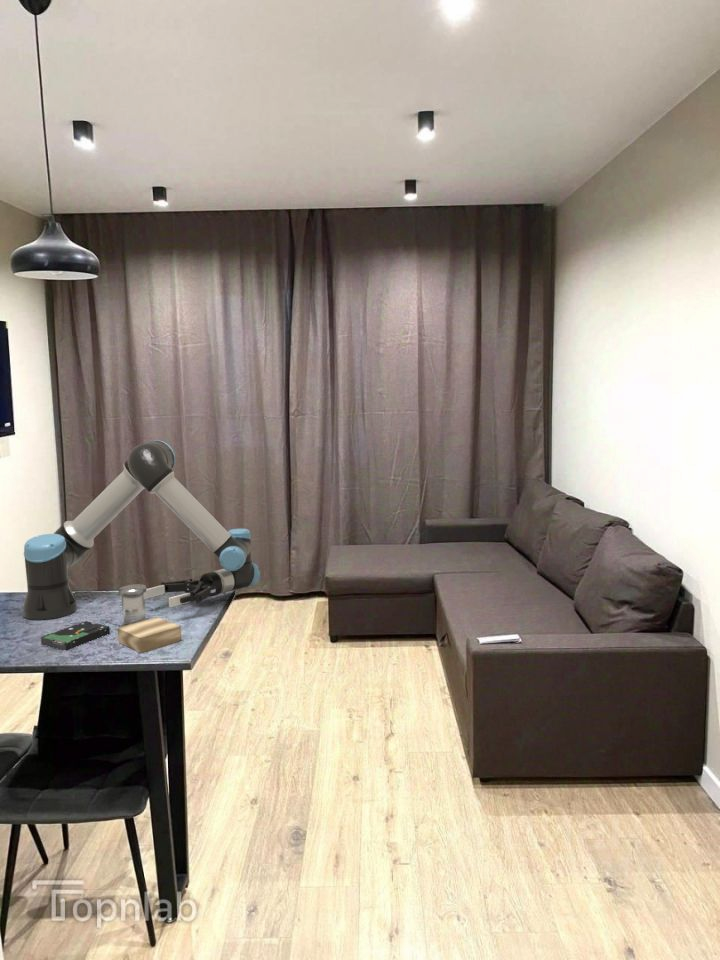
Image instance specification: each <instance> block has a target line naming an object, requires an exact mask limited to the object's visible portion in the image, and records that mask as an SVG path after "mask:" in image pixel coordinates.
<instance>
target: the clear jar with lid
mask: <svg viewBox="0 0 720 960" xmlns="http://www.w3.org/2000/svg"><path fill="white" fill-rule="evenodd" d="M146 589H147V586H146V584H139V583H137V584H136V583H135V584H134V583H133V584H128V585H124V586H120V588H118V595H120V596H121V607H122V620H123V626H127V625H130V624H134V623H137V622H141V621H144V620H147V610H146V598H145V594H144V593H145V592H146Z"/></svg>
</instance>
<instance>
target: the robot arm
mask: <svg viewBox="0 0 720 960" xmlns="http://www.w3.org/2000/svg"><path fill="white" fill-rule="evenodd" d="M175 464H176V454H175V451H174V450H173V447H171V446H170V444H168V443H167V442H165V441H163V440H158V439H157V440H156V439H152V440H148V441H146V442H145V443H144V442H143V443H141V444H138V445H136V446H135V447H133V448H132V449H131V451H130V452H129V454H128V458H127V460H125V462H124V463H123V470H122V472H121V473H119V475H117V476H116V478H114V479H113V480H112V481H111V482H110V484H108V486H106V487H105V488H104V490H103V491H101V493H100V494H99V495H98V496H96V498H94V499H93V500H92V502H91V503H90V504H88V506H86V508H84V509H83V511H82V512H80V513H79V514H78V515H77V516H76V517H75V518H74V520H66V521H64V522H63V523H62V524H61V526H59V528H57V529H56V530H55V531H54V532H53V533H47V534H45V533H44V534H40V535H37V536H33V537H31V538H29V539H28V540H26V541H25V543H24V545H23V547H24V549H23V556H24V557H23V558H24V563H25V575H26V576H25V577H26V585H27V592H26V596H25V600H24V602H23V603H24V604H23V608H22V613H23V618H25V619H28V620H34V621H37V620H38V621H39V620H40V621H41V620H43V621H44V620H52V619H58V618H61V617H66V616H68V615H70V614H73V613H74V612H75V611H77V607H78V605H77V601H76V598H75V595H74V594H73V592H72V590H71V587H70V585H69V572H68V571H69V570H68V569H69V568H71V567H73V566H74V565H76V564H77V563H79V562H80V561H81V560H82V559H84V557H85V555H86V554H87V552H88V551H89V550H90V549H91V548H93V546H94V544H95V542H94V539H95V538H96V537H97V536H98V535H99V534H101V532H102V531H103V530H104V529H105V528H106V527H107V526H108V525H109V524H110V523H111V522H113V520H114V519H115V518H117V516H118V515H119V514H120V513H121V512H122V511H123V510H124V509H125V508H126V507H127V506H128V505H129V504H130V503H132V501H133V500H135V498H136V497H137V496H138V495H139V494H140V493H141V492H142V491H143V490H146V491H147V492H148V493H149V494H152V495H153V494H155V495H156V496H157V497H158V498H159V499H160V500H161V501H162V502H163V503H164V504H165V505H166V506H167V507H168V509H170V510H171V512H173V513H174V515H176V516H177V517H178V519H180V520H181V521H182V523H184V524H185V525H186V527H187V528H189V529H190V530H191V532H193V534H194V535H195V536H196V537H197V538H198V539H199V540H200V541H201V542H202V543H204V545H205V546H206V547H207V548H208V549H209V550H210V551H211V552H212V553H213V554H214V555H215V556H216V557H217V558H218V560H219V564H220V566H221V567H222V568H221V569H216V570H213V571H211V572H206V573H203V574H202V575H201V577H200V578H199V580H198V579H194V580H193V579H192V578H189V579H184V580H183V579H182V580H172V581H165V582H160V585H157V586H153V587H149V588H146V592H145V593H144V594H145V600H146V599H150V598H153V597H157V596H158V597H159V596H165V594H166V593H181V592H182V593H183V594H179V595H175V596H171V597H168V598H167V599H168V607H169V608H173V607H177V606H181V605H184V604H188V603H194V602H195V604H199V603H201V602H203V601H204V600H206V599H208V598H212V597H215V596H218V595H221V594H223V595H226V594H227V592H233V591H235V590H240V589H244V588H248V587H250V586H251V587H252V586H253V585H256V584H257V583H258V582H259V581H260V578H261V571H260V570H259V566H258V565H257V564H256V563H255V562H252V561H253V560H252V537H251V532H250V529H248V528H233V529H228V530H226V528H225V527H223V525H221V523H220V522H219V521H218V520H217V519H216V518H215V517H214V516H213V515H212V514H211V513H210V512H209V511H208V510H207V509H206V508H205V507H204V506H203V505H202V504H201V503H200V501H198V500H197V498H195V496H193V495H192V493H191V492H189V491H188V489H186V487H185V486H183V484H182V483H181V482H180V481H179V480H178V479H177V478H176V477H175V471H174V470H173V468H174V467H175Z"/></svg>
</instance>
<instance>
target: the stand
mask: <svg viewBox="0 0 720 960" xmlns="http://www.w3.org/2000/svg"><path fill="white" fill-rule="evenodd" d="M117 640H118V641H117V642H118V643H119V644H122V645H124V646H125V647H128V648H130V649H132V650H134V651H135V652H138V653H141V654H142V653H145V652H146V653H147V652H149V651H151V650H155V649H157V648H158V649H159V648H162V647H164V646H169V645H171V644H175V643H178V642H180V641H182V627H181V625H179V624H177V623H174V622H172V621H168V620H166V619H164V618H162V617H159V616H156V617H152V618H148V619H146V620H144V621H141V622H137V623H134V624H130V625H127V626H124V625H123V626H120V627H117Z"/></svg>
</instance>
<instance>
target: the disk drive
mask: <svg viewBox="0 0 720 960" xmlns="http://www.w3.org/2000/svg"><path fill="white" fill-rule="evenodd" d="M110 629H111V627H110V626H109V625H103V624H101V623H94V624H93V623H92V621H91V622H90V621H83V622H82V621H81V622H80V623H77V624H73V625H71V626H68V627H66V628H63V629H59V630H56V631H55V632H51V633H48V634H46V635H43V636H41V637H40V642H41V643H40V645H42V644H43V645H42V646H45V645H47V646H46V647H48V646H50V647H49V648H52V647H54V648H53V649H56V648H58V649H57V650H60V649H61V650H60V651H63V650H66V651H69V650H72V649H74V647H75V648H76V646H77V647H79V645H80V646H82V645H84V643H85V644H87V643H89V641H90V642H92V640H93V641H95V640H97V638H98V639H100V638H103V637H106V636H108V635H110V634H111V630H110ZM107 634H108V635H107ZM105 635H106V636H105ZM102 636H103V637H102ZM81 644H82V645H81Z"/></svg>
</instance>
